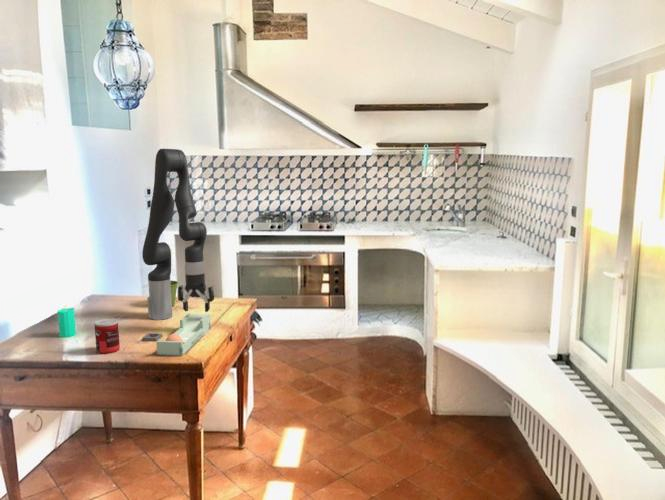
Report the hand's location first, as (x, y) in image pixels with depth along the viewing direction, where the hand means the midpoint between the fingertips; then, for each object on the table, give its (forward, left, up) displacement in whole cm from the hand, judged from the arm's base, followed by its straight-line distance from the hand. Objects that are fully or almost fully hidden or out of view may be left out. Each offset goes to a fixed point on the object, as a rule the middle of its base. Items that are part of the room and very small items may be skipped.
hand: (196, 311), depth 213 cm
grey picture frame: (-14, -12, -8) cm, 20 cm away
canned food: (-24, -26, -8) cm, 36 cm away
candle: (-49, -10, -8) cm, 51 cm away
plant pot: (-27, +34, -8) cm, 45 cm away
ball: (0, -24, -5) cm, 25 cm away
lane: (0, -13, -8) cm, 15 cm away
